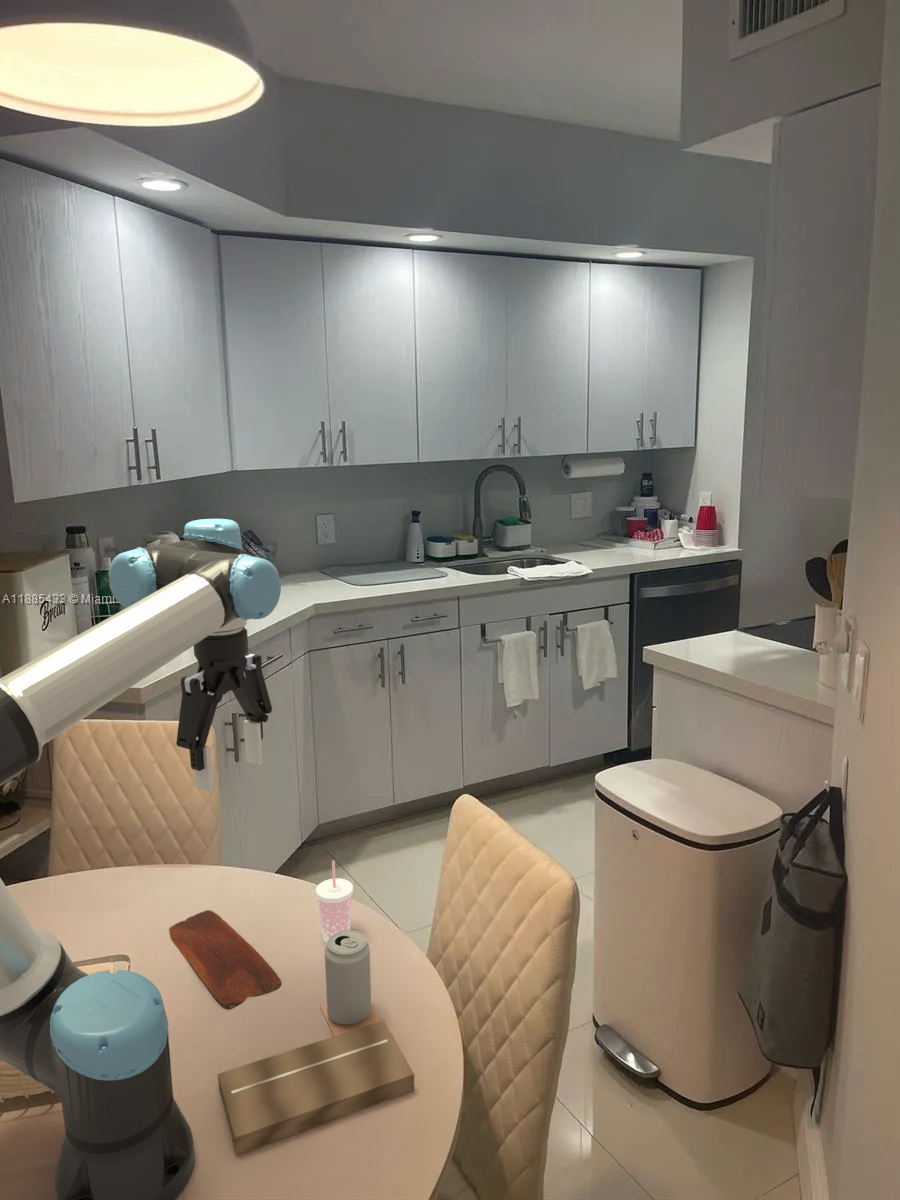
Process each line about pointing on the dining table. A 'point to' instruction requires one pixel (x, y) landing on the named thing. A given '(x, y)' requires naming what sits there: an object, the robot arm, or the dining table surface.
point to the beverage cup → (334, 905)
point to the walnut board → (312, 1085)
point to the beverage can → (348, 977)
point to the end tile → (340, 1028)
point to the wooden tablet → (223, 959)
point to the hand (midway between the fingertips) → (230, 774)
